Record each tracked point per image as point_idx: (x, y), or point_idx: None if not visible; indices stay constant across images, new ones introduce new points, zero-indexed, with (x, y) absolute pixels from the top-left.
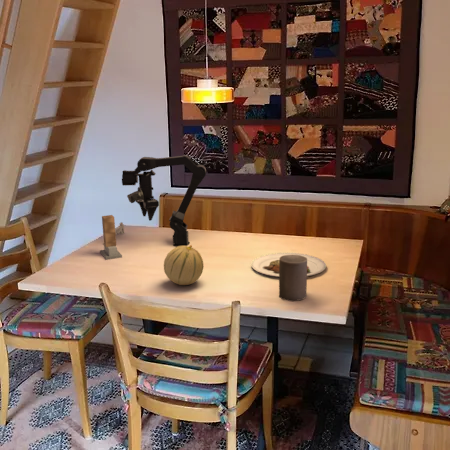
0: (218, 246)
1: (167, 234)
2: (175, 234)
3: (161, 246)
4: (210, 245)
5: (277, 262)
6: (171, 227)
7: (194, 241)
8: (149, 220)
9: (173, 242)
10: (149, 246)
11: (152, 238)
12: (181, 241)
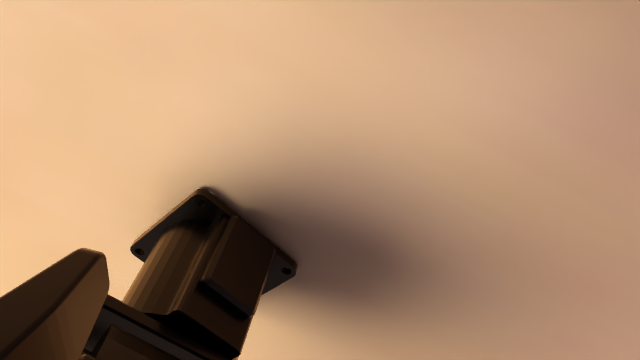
0: None
1: (607, 348)
2: (168, 297)
3: (263, 108)
4: None
5: None
6: (102, 342)
7: (245, 343)
8: (80, 248)
9: (226, 224)
10: (350, 6)
11: (628, 201)
12: (145, 261)
